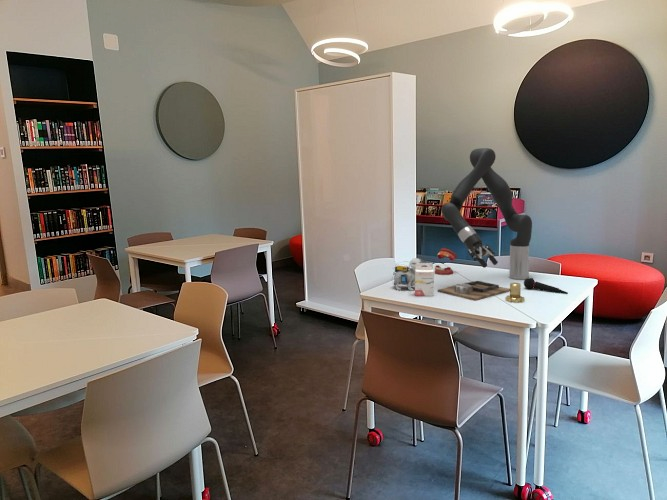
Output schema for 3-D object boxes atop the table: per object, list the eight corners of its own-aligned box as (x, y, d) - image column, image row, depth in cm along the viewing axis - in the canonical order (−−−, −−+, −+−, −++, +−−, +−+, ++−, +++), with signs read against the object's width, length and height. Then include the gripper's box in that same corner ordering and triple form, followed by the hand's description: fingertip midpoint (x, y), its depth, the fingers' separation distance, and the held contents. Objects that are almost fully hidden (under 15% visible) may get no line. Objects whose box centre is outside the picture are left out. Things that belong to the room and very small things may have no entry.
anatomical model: (428, 272, 276) (435, 246, 277) (436, 275, 281) (443, 250, 282) (444, 275, 268) (451, 248, 269) (452, 278, 273) (459, 252, 275)
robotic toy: (425, 292, 236) (425, 261, 233) (389, 290, 241) (388, 260, 239) (428, 286, 247) (428, 256, 245) (394, 284, 253) (394, 255, 251)
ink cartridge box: (415, 296, 229) (415, 265, 226) (414, 293, 234) (414, 263, 231) (434, 296, 228) (434, 264, 225) (433, 293, 233) (433, 262, 230)
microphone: (567, 299, 227) (524, 288, 240) (570, 287, 227) (527, 277, 240) (564, 298, 223) (520, 287, 236) (567, 286, 223) (524, 275, 236)
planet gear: (512, 297, 222) (512, 281, 221) (527, 300, 216) (528, 283, 215) (501, 300, 218) (502, 283, 217) (517, 303, 212) (517, 286, 210)
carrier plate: (472, 283, 251) (473, 275, 250) (510, 291, 233) (511, 282, 233) (437, 291, 236) (437, 283, 235) (475, 300, 218) (475, 291, 218)
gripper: (465, 234, 223) (487, 262, 217) (483, 231, 233) (505, 258, 226) (455, 244, 228) (477, 272, 221) (473, 241, 237) (494, 268, 231)
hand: (491, 265), depth 224 cm, fingers open, 8 cm apart
